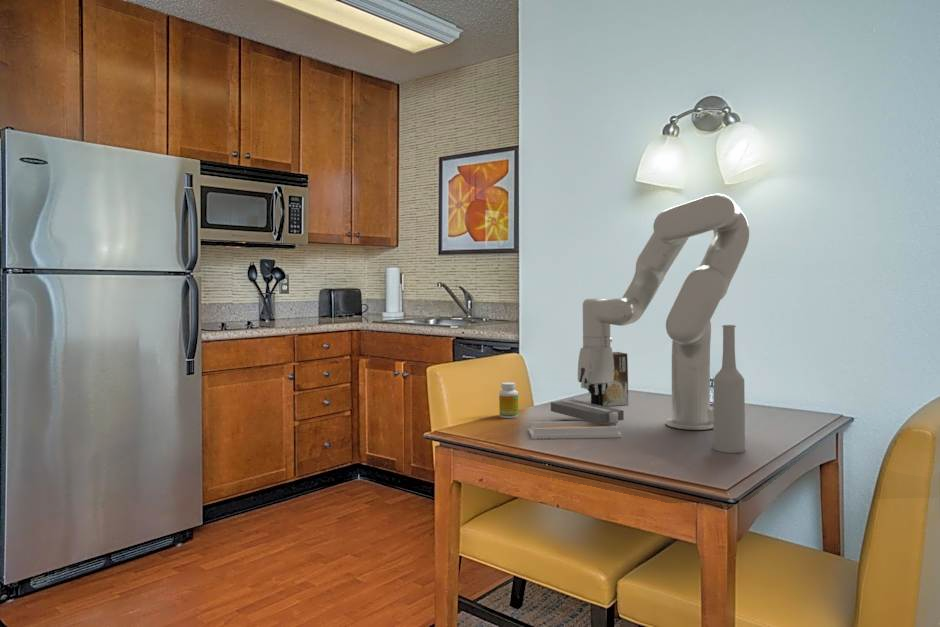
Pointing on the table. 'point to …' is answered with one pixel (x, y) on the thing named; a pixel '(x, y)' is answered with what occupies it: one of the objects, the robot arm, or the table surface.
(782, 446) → the table surface
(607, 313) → the robot arm
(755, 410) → the table surface
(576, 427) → the duct base
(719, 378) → the bottle
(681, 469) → the table surface
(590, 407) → the block
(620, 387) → the coffee box
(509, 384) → the supplement bottle
